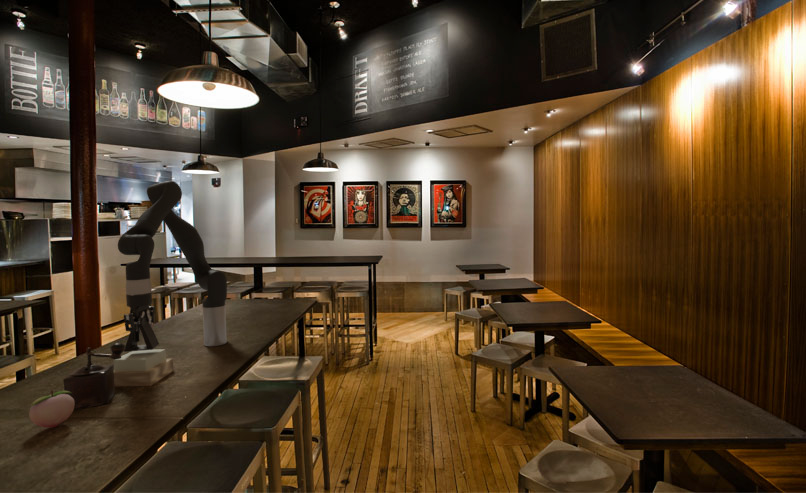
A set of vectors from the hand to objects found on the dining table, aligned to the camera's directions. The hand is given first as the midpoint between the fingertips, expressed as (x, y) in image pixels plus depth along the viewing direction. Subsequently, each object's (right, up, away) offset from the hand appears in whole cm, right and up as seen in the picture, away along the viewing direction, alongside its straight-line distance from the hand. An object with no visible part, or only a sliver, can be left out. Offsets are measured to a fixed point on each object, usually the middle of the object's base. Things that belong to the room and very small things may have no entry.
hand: (141, 339), depth 143 cm
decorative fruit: (-1, -16, -34) cm, 38 cm away
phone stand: (0, -3, 0) cm, 3 cm away
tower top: (0, -9, 0) cm, 9 cm away
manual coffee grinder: (-1, -15, -17) cm, 23 cm away
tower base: (0, -14, 0) cm, 14 cm away
